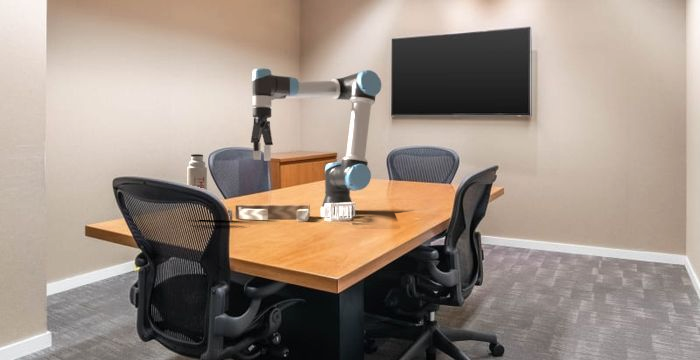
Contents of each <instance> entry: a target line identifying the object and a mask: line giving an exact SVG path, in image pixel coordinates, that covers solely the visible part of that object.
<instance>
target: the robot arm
mask: <svg viewBox="0 0 700 360" xmlns="http://www.w3.org/2000/svg"><path fill="white" fill-rule="evenodd" d="M251 76H252V77H251V83H252V85H251V87H252V89H251V90H252V99H251V101H250V102H252V107H253V108H252V118H253V124H252V126H253V127H252V132H251V139H250V143H252V145H253V147H252V148H253V149H252V150H253V154H252V155H253V156H252V157H253V160H254V161H255V160H262V156H261V153H262V151H261V149H262V147H261V145H262V143H261V138H263V143H264V145H263V161H264V162H265V161H267V162H268V161H269V162H270V161H272V159H271V158H272V157H271V156H272V155H271V153H272V151H271V150H272V147H271V146H273V145H274V144H273V137H272V131H271V121H269V120H268V119H269V118H271V117H272V108H271V107H272V101H273V100H283V99H285V100H287V99H315V98H317V99H321V98H324V99H325V98H331V99H333V100H347V101H348V100H349V101H350V103H351V109H350V110H351V113H350V118H349V126H348V127H349V128H348V135H347V136H348V137H347V145H346V154H345V156H344V157H343V158H342V159H341V161H335V162H329V163H327V164H325V169H324V179H325V180H324V197H323V201H322V205H321V207H325V204H326V203H343V202H353V201H352V198H351V191H353V192H356V191H362V190H364V189H366V187H367V186H368V185H369V184H370V181H371V178H372V171H371V170H370V168H369V167H368V165H369V164H368V163H369V162H368V160H367V159H366V151H367V141H368V133H369V125H370V117H371V110H372V109H371V108H372V106H373V104H375V103H376V97H377V95H378V94H379V93H380V92H381V89H382V81H381V78H380V77H379V76H378V74H377V73H376V72H375V71H373V70H368V69H367V70H361V71H359V72H357V73H352V74H350V75H347V76H343V77H340V78H332V79H331V80H302V81H300V80H298V78H297V77H291V76H283V75H282V76H281V75H274V74H272V71H271V69H269V68H264V67H261V68H254V69H253V70H252V75H251ZM352 213H353V205H352ZM334 214H335V207H334Z"/></svg>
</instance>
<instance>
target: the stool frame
mask: <svg viewBox="0 0 700 360" xmlns="http://www.w3.org/2000/svg"><path fill="white" fill-rule="evenodd" d="M239 207H244V209H264V210H268V220H296V223H297V222H298V223H300V222H301V223H302V222H303V223H305V222H307V221H308V220H309V219H310V217H311V216H310V215H311V213H310V212H311V205H310V204H236V205H235V220H240V219H239ZM227 210H228V213H229V216H230V222H232V221H233V209H227Z"/></svg>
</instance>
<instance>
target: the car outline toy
mask: <svg viewBox="0 0 700 360" xmlns="http://www.w3.org/2000/svg"><path fill="white" fill-rule="evenodd" d="M352 205H353V212H352ZM334 207H335V213H334ZM320 217H322V218H324V222H325V221H327V222H343V221H344V222H345V221H347V222H348V221H352V219H353V218H355V217H356V202H355V201H354V202H353V201H352V202H343V203H326V204H325V207H322V206H320Z"/></svg>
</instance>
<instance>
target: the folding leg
mask: <svg viewBox="0 0 700 360" xmlns="http://www.w3.org/2000/svg"><path fill="white" fill-rule="evenodd" d="M238 220H252V221H253V220H254V221H256V220H257V221H265V220H266V221H267V220H269V219H268V210H264V209H244V207H239V219H238Z"/></svg>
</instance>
